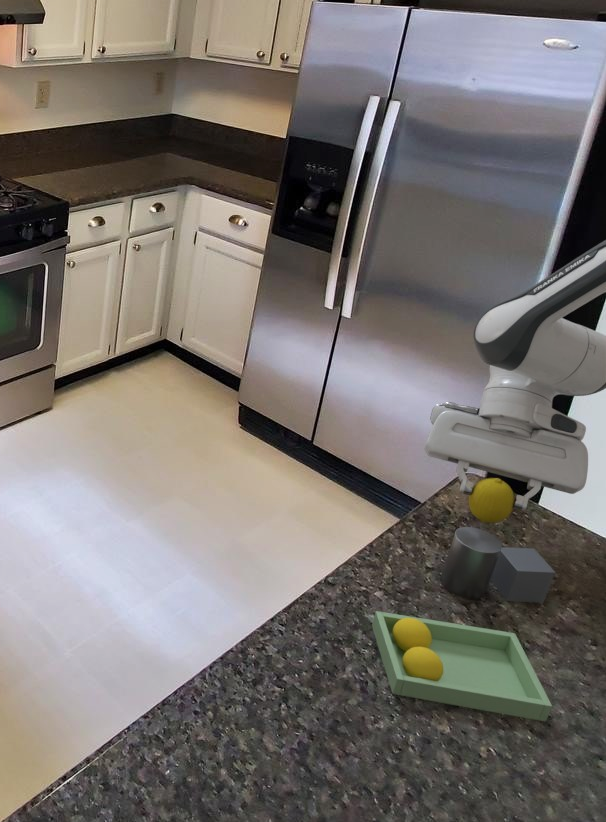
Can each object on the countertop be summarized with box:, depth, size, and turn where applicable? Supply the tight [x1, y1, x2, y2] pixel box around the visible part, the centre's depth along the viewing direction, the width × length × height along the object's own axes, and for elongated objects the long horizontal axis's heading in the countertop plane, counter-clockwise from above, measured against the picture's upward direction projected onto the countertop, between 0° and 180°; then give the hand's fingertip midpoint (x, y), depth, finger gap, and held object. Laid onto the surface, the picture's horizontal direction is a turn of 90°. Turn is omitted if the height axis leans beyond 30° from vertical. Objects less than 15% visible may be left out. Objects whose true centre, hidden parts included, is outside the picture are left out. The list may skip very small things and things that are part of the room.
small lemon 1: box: [393, 618, 432, 651], centre depth 103 cm, size 4×4×4 cm
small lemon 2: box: [402, 647, 443, 681], centre depth 99 cm, size 4×4×4 cm
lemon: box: [468, 477, 515, 524], centre depth 120 cm, size 6×6×8 cm
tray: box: [371, 610, 553, 722], centre depth 101 cm, size 17×12×3 cm
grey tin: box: [439, 526, 503, 601], centre depth 113 cm, size 6×6×9 cm
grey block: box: [490, 546, 556, 606], centre depth 113 cm, size 5×5×6 cm
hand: (491, 501), depth 119 cm, fingers closed on lemon, 5 cm apart
